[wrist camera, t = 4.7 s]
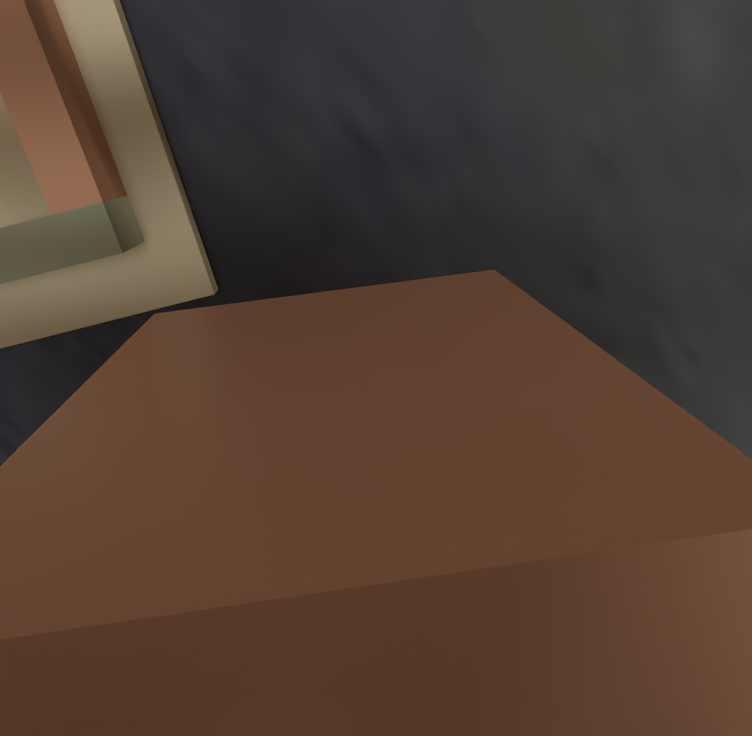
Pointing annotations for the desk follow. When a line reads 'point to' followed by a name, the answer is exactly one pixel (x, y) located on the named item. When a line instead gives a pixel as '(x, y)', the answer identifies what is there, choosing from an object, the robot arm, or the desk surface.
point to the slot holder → (85, 177)
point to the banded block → (374, 532)
